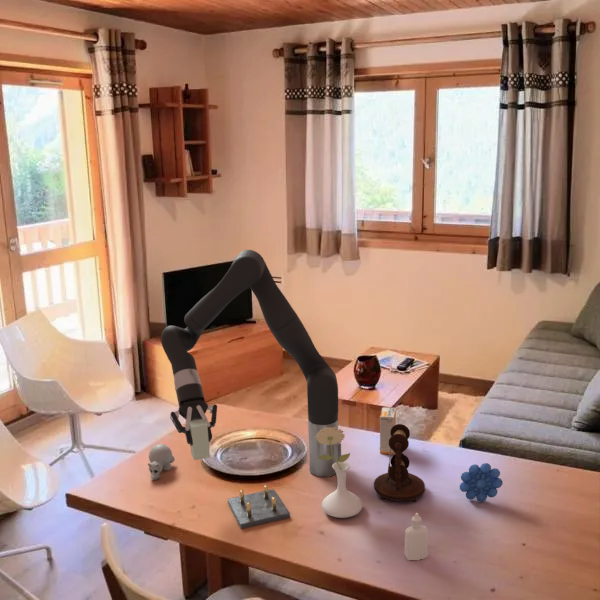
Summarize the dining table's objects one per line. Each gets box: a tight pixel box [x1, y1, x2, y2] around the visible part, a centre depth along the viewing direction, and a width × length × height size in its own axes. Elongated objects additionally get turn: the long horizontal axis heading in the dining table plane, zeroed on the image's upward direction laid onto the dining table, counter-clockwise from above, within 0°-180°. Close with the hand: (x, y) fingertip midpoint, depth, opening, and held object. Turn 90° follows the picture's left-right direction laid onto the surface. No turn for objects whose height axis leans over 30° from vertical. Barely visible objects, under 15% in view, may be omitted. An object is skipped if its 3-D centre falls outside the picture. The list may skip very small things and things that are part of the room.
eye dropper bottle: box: [404, 512, 429, 561], centre depth 167 cm, size 4×6×12 cm
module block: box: [189, 419, 211, 461], centre depth 191 cm, size 4×4×10 cm
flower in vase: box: [315, 427, 363, 519], centre depth 188 cm, size 13×11×25 cm
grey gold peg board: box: [227, 484, 291, 530], centre depth 191 cm, size 14×14×5 cm
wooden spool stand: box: [373, 423, 426, 503], centre depth 197 cm, size 15×15×20 cm
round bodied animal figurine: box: [147, 443, 175, 481], centre depth 214 cm, size 7×12×8 cm, turn 167°
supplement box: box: [379, 407, 397, 455], centre depth 224 cm, size 8×5×13 cm, turn 168°
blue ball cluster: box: [459, 462, 503, 503], centre depth 192 cm, size 12×7×12 cm, turn 73°
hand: (200, 442), depth 190 cm, fingers closed on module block, 4 cm apart
